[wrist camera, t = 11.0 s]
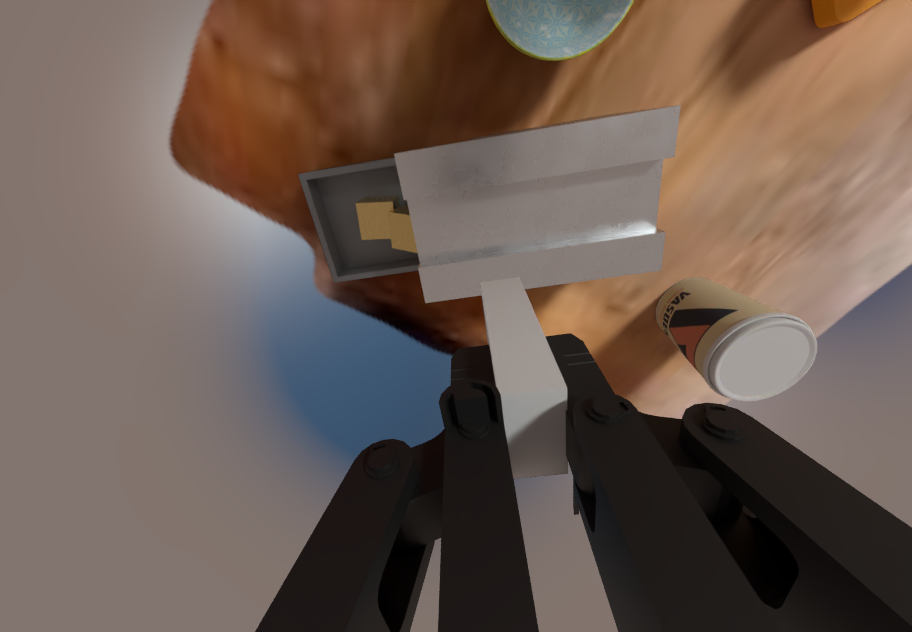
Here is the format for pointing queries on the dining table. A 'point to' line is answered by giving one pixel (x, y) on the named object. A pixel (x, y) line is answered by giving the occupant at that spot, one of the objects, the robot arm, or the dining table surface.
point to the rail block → (540, 203)
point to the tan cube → (401, 229)
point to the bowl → (557, 25)
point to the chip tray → (354, 219)
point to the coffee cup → (736, 339)
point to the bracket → (838, 10)
